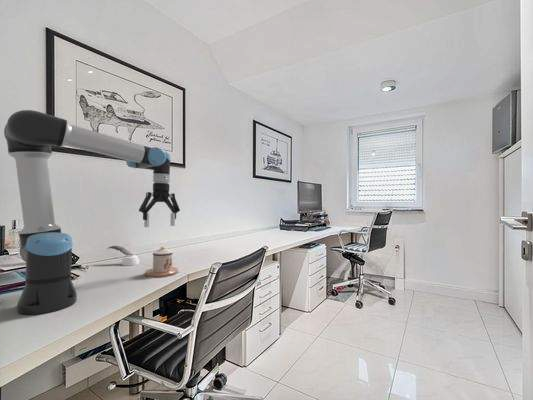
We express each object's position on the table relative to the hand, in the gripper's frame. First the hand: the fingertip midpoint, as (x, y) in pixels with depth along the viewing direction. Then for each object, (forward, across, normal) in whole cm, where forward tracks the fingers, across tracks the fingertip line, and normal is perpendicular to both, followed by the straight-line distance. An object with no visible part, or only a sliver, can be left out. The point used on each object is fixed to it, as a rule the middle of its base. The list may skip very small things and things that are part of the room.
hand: (160, 226), depth 129 cm
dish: (+23, +2, 0) cm, 23 cm away
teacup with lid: (+22, +2, 0) cm, 22 cm away
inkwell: (+23, -2, +34) cm, 41 cm away
